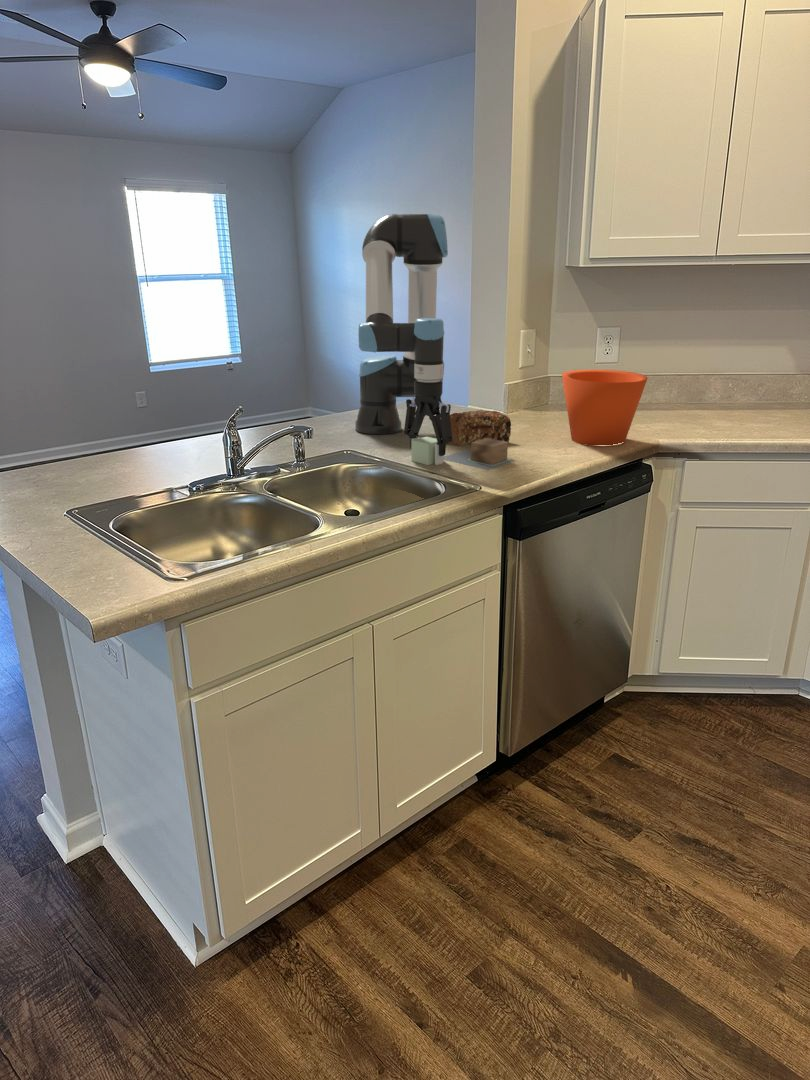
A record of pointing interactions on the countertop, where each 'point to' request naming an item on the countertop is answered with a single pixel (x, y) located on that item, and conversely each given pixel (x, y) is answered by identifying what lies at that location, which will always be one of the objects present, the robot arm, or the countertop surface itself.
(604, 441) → the flowerpot
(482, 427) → the bread
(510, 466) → the countertop surface
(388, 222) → the robot arm
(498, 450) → the walnut base
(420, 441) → the green block
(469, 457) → the build mat
